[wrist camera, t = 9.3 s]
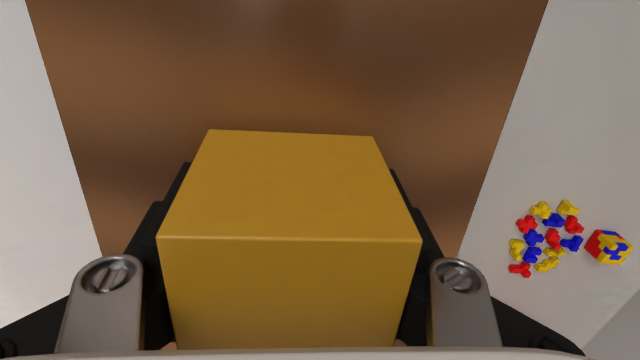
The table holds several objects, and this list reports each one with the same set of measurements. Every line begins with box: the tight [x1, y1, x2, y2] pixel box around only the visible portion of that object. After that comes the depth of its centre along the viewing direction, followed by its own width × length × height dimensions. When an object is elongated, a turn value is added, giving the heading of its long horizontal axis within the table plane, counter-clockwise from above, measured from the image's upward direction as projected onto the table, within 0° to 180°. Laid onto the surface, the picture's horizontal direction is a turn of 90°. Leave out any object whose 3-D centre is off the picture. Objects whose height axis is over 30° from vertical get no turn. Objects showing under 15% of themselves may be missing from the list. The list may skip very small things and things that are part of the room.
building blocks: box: [508, 201, 634, 278], centre depth 26 cm, size 6×8×2 cm
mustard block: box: [156, 129, 423, 350], centre depth 10 cm, size 5×5×5 cm
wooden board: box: [25, 0, 548, 350], centre depth 13 cm, size 20×14×2 cm
